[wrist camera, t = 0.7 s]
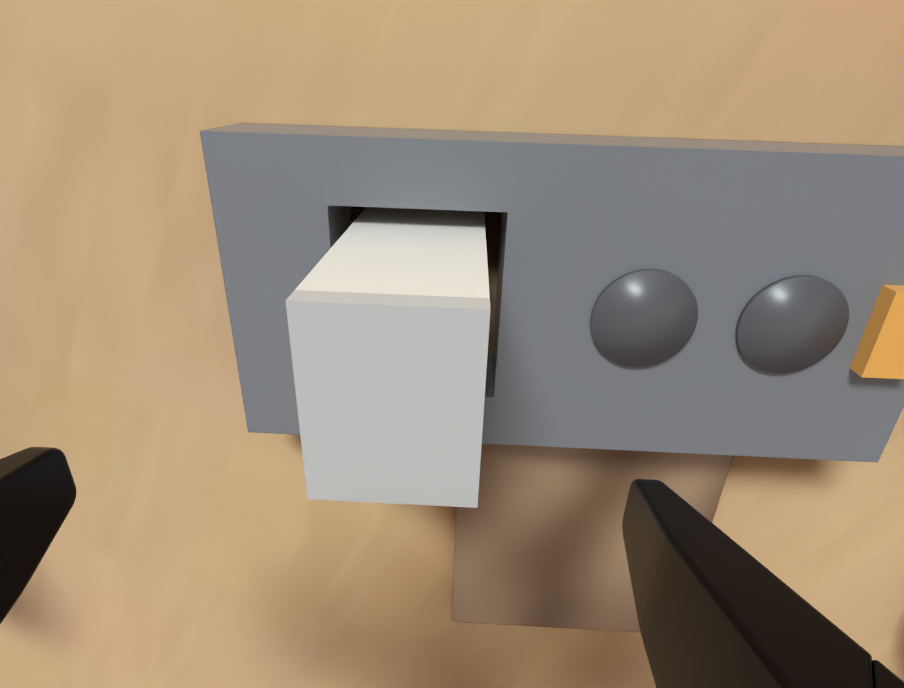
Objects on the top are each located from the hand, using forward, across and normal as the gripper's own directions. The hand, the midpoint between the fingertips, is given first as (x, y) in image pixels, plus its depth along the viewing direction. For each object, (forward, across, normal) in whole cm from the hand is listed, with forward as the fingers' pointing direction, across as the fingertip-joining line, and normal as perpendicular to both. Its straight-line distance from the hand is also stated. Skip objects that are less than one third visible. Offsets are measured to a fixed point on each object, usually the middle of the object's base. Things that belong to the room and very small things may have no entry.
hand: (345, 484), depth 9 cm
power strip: (+12, -5, +1) cm, 13 cm away
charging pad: (+12, -7, +13) cm, 19 cm away
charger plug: (+12, 0, +1) cm, 12 cm away
